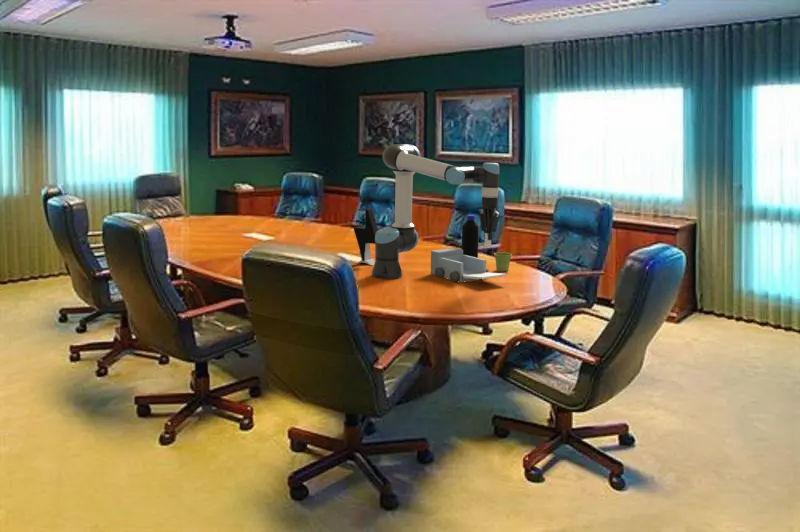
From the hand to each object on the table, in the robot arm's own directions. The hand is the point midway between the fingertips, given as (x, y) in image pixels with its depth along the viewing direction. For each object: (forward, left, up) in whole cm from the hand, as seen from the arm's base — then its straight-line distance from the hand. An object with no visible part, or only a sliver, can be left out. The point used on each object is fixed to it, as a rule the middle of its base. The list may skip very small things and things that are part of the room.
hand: (487, 246), depth 332 cm
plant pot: (+30, +22, -19) cm, 42 cm away
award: (-21, +74, -18) cm, 79 cm away
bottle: (+20, +37, -18) cm, 46 cm away
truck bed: (0, +22, -18) cm, 28 cm away
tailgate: (0, +9, -15) cm, 18 cm away
